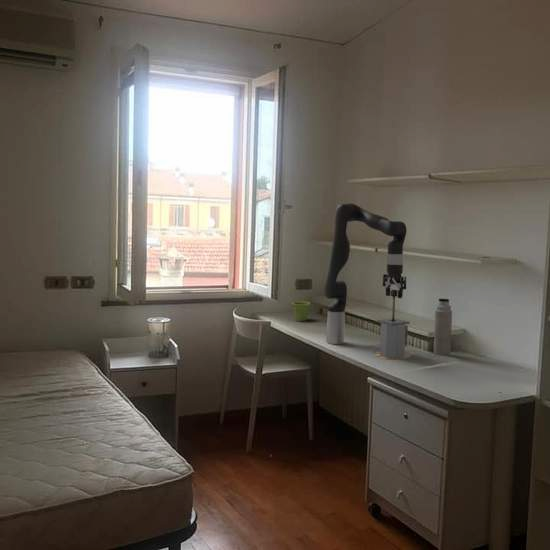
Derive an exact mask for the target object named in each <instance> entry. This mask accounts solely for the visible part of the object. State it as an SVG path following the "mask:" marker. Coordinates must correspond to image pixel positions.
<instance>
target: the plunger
mask: <svg viewBox="0 0 550 550" xmlns="http://www.w3.org/2000/svg"><path fill="white" fill-rule="evenodd" d="M390 297H392V313H391V314H392V315H391V316H392V317H391V318H392V321H394V318H395V309H396V307H395V306H396V297H397V298H398V289H390Z"/></svg>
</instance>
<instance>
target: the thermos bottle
mask: <svg viewBox="0 0 550 550" xmlns="http://www.w3.org/2000/svg"><path fill="white" fill-rule="evenodd" d="M452 319H453V310H452V306H451V305H450V299H448V298H438V304H437V305H436V309H435V310H434V331H433V332H434V336H433V337H434V339H433V341H434V342H433V354H435V355H438V356H448V357H451V347H452V345H451V344H452V343H451V342H452V325H453V324H452V321H453V320H452Z"/></svg>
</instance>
